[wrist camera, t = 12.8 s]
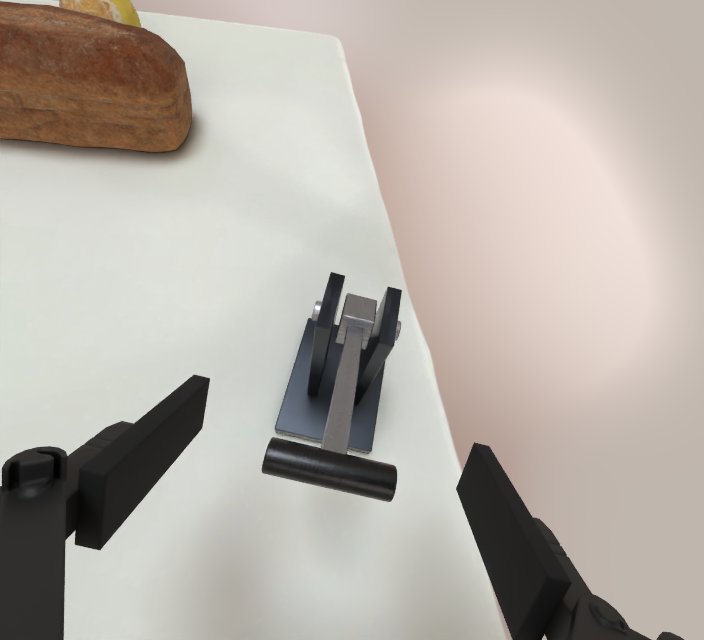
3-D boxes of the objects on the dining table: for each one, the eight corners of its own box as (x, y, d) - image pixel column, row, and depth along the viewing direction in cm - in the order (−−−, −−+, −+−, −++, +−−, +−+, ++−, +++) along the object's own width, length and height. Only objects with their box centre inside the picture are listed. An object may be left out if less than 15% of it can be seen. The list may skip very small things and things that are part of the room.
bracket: (368, 453, 31) (420, 414, 19) (274, 432, 31) (262, 376, 18) (385, 342, 38) (433, 256, 25) (307, 323, 37) (315, 225, 25)
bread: (0, 87, 49) (-80, -30, 38) (204, 110, 53) (182, 12, 43) (-50, 145, 42) (-163, 23, 32) (189, 166, 47) (159, 65, 36)
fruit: (87, 37, 59) (52, -44, 50) (154, 44, 61) (131, -33, 52) (72, 66, 54) (31, -18, 45) (146, 73, 56) (120, -6, 48)
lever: (384, 513, 14) (401, 486, 13) (259, 485, 14) (262, 454, 13) (390, 331, 25) (399, 305, 24) (319, 313, 25) (324, 286, 23)
